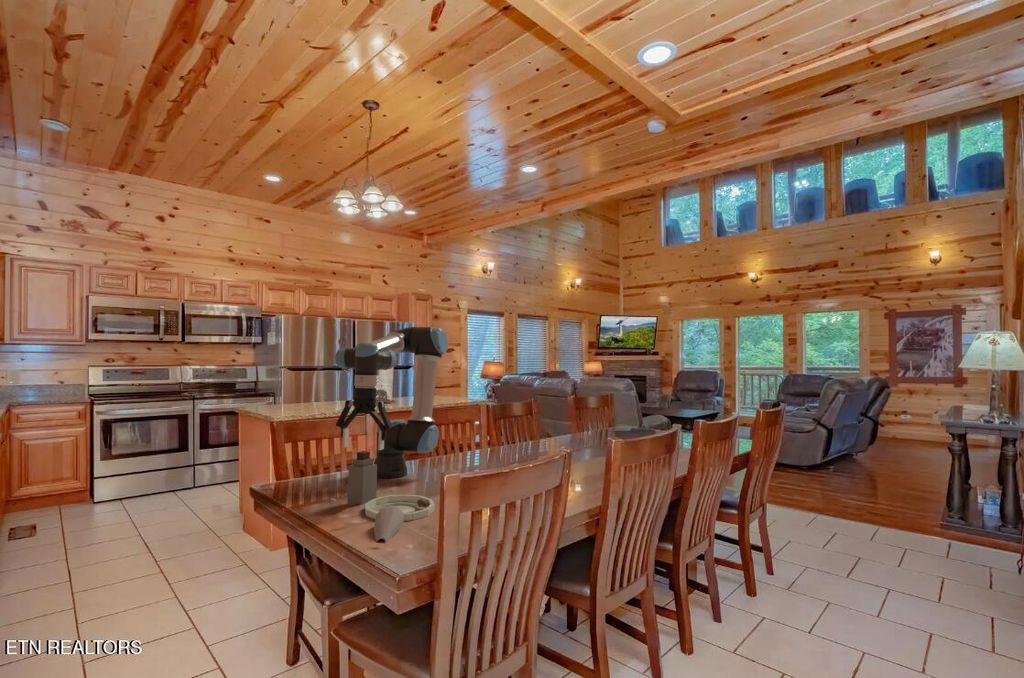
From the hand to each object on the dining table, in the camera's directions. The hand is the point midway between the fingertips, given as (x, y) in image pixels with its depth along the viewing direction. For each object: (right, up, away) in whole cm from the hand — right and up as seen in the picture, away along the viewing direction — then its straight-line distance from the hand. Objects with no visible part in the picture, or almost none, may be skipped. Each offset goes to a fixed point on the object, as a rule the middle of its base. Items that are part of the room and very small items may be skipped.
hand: (363, 448), depth 179 cm
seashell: (+16, -19, -29) cm, 38 cm away
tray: (+15, -20, -10) cm, 26 cm away
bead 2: (+22, -18, -13) cm, 32 cm away
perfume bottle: (0, -20, 0) cm, 20 cm away
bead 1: (+21, -19, -5) cm, 29 cm away
